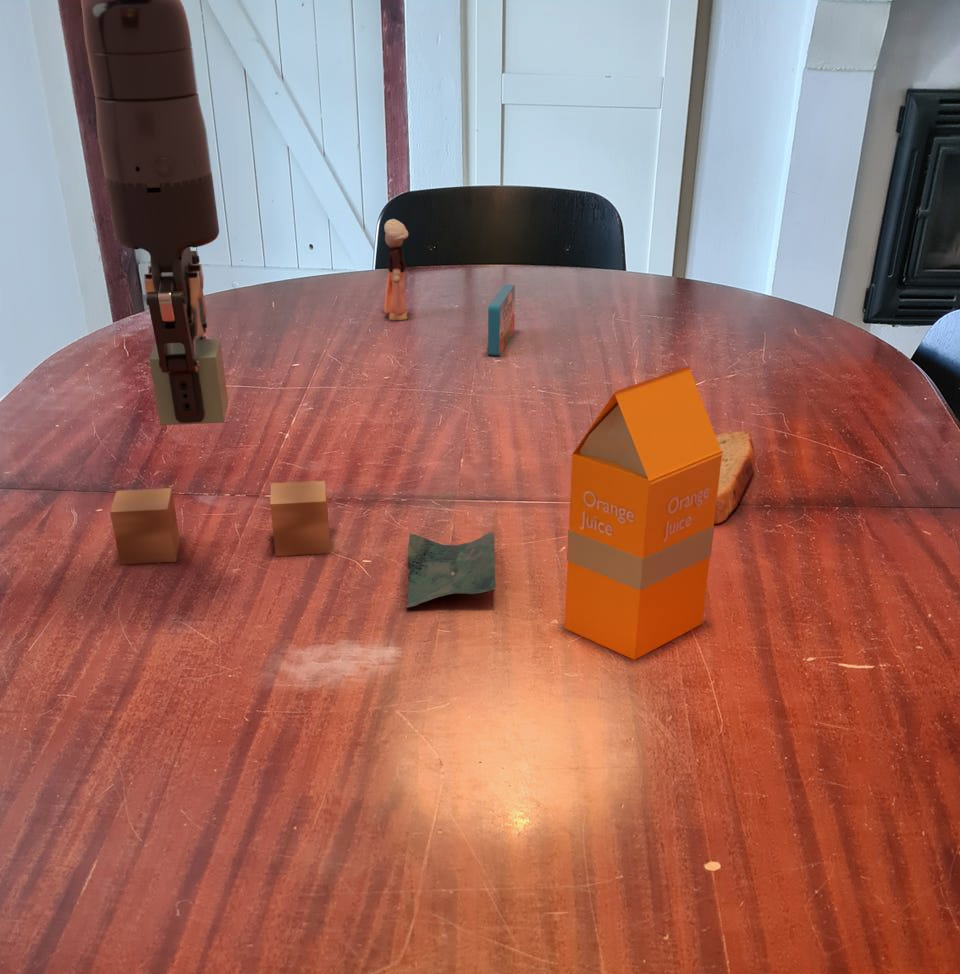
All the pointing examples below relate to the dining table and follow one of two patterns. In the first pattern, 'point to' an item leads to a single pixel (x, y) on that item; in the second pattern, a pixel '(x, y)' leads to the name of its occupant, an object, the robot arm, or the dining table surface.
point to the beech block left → (145, 526)
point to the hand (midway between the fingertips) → (193, 408)
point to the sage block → (209, 381)
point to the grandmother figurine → (395, 271)
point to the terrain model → (449, 568)
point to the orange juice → (642, 517)
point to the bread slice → (733, 471)
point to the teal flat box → (501, 319)
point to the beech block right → (300, 518)
